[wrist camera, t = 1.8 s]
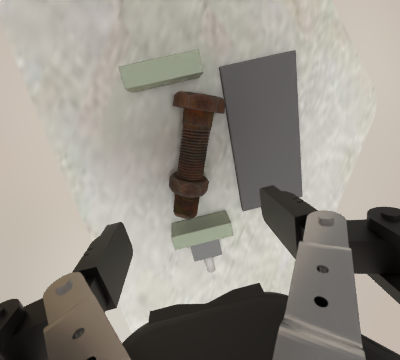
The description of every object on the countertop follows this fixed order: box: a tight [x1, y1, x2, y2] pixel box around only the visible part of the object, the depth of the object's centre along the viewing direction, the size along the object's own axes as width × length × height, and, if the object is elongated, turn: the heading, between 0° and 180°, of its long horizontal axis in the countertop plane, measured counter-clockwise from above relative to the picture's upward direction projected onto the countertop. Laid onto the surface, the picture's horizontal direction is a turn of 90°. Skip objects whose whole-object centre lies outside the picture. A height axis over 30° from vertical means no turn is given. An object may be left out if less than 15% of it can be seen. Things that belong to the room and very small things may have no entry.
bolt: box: [169, 91, 226, 219], centre depth 25 cm, size 6×5×15 cm
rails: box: [119, 49, 233, 272], centre depth 26 cm, size 28×8×4 cm, turn 12°
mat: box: [219, 50, 302, 211], centre depth 27 cm, size 19×9×1 cm, turn 12°
